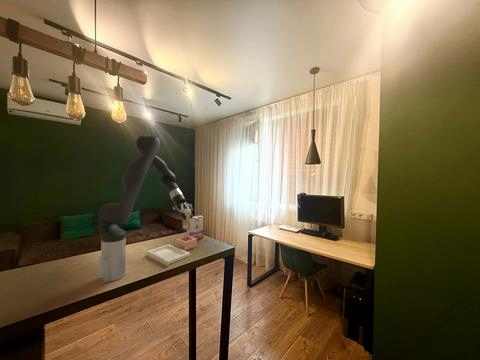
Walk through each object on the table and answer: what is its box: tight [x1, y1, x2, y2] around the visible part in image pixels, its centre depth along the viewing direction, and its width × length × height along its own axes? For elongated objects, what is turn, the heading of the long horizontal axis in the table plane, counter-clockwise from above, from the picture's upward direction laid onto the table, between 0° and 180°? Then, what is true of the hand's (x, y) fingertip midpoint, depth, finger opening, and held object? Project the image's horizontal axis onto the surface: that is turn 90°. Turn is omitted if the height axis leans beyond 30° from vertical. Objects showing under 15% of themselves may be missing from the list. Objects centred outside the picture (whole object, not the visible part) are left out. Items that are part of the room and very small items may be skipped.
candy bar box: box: [186, 215, 204, 240], centre depth 139 cm, size 11×5×16 cm, turn 132°
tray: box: [146, 244, 191, 267], centre depth 111 cm, size 14×20×2 cm
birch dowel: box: [182, 209, 192, 230], centre depth 123 cm, size 4×4×12 cm
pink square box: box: [174, 234, 198, 252], centre depth 123 cm, size 9×9×6 cm
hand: (188, 218), depth 121 cm, fingers closed on birch dowel, 4 cm apart
